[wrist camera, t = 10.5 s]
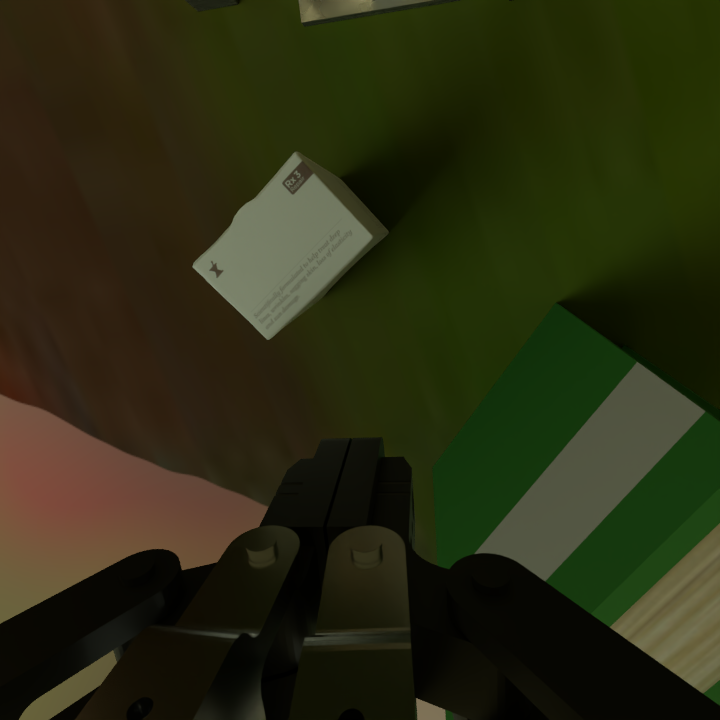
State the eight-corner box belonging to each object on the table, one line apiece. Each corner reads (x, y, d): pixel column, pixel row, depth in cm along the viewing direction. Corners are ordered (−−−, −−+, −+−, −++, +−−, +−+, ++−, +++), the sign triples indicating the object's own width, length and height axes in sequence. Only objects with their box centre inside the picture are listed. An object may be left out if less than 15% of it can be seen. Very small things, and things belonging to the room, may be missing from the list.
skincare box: (320, 300, 40) (266, 353, 26) (267, 246, 39) (183, 270, 25) (394, 227, 38) (379, 242, 24) (340, 168, 37) (291, 147, 23)
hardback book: (555, 302, 38) (758, 449, 15) (633, 350, 39) (942, 562, 16) (432, 467, 44) (447, 753, 21) (501, 508, 44) (589, 830, 22)
